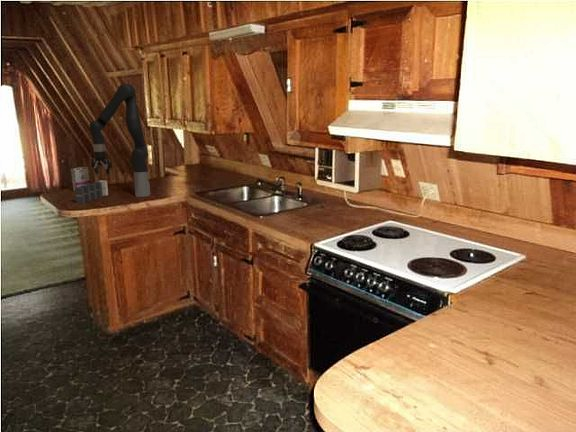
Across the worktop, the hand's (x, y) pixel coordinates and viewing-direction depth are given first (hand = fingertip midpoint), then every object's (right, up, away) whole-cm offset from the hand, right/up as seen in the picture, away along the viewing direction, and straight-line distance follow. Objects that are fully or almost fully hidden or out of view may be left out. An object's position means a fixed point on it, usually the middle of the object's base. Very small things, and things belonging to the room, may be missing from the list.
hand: (102, 174), depth 314 cm
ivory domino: (-1, -14, +4) cm, 15 cm away
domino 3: (-4, -17, -7) cm, 19 cm away
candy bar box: (-22, -10, +17) cm, 29 cm away
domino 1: (-7, -20, -18) cm, 28 cm away
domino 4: (-2, -16, -2) cm, 16 cm away
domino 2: (-5, -19, -13) cm, 23 cm away
